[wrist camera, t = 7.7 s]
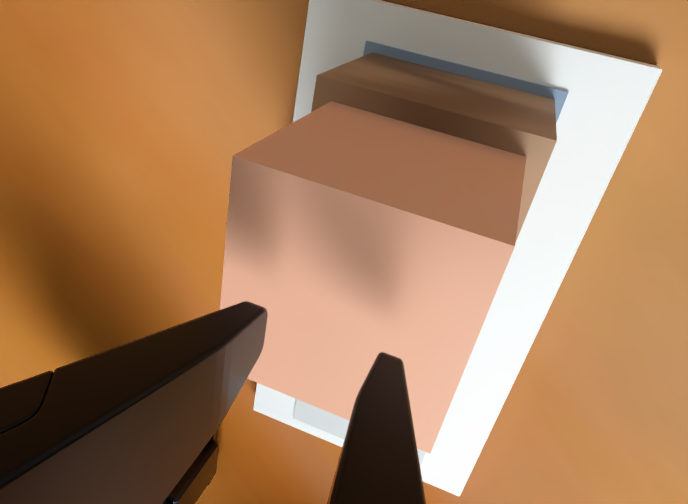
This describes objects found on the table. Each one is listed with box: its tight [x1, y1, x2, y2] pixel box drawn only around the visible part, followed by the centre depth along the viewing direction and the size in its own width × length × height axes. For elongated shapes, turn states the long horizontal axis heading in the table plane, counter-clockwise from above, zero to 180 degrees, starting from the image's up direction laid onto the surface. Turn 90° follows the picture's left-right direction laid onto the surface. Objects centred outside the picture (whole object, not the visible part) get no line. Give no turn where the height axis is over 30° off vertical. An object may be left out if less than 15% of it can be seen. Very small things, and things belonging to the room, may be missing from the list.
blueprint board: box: [253, 0, 662, 497], centre depth 22 cm, size 11×20×1 cm, turn 170°
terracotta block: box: [220, 101, 526, 454], centre depth 12 cm, size 5×5×5 cm
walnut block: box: [311, 52, 557, 243], centre depth 16 cm, size 6×6×5 cm
